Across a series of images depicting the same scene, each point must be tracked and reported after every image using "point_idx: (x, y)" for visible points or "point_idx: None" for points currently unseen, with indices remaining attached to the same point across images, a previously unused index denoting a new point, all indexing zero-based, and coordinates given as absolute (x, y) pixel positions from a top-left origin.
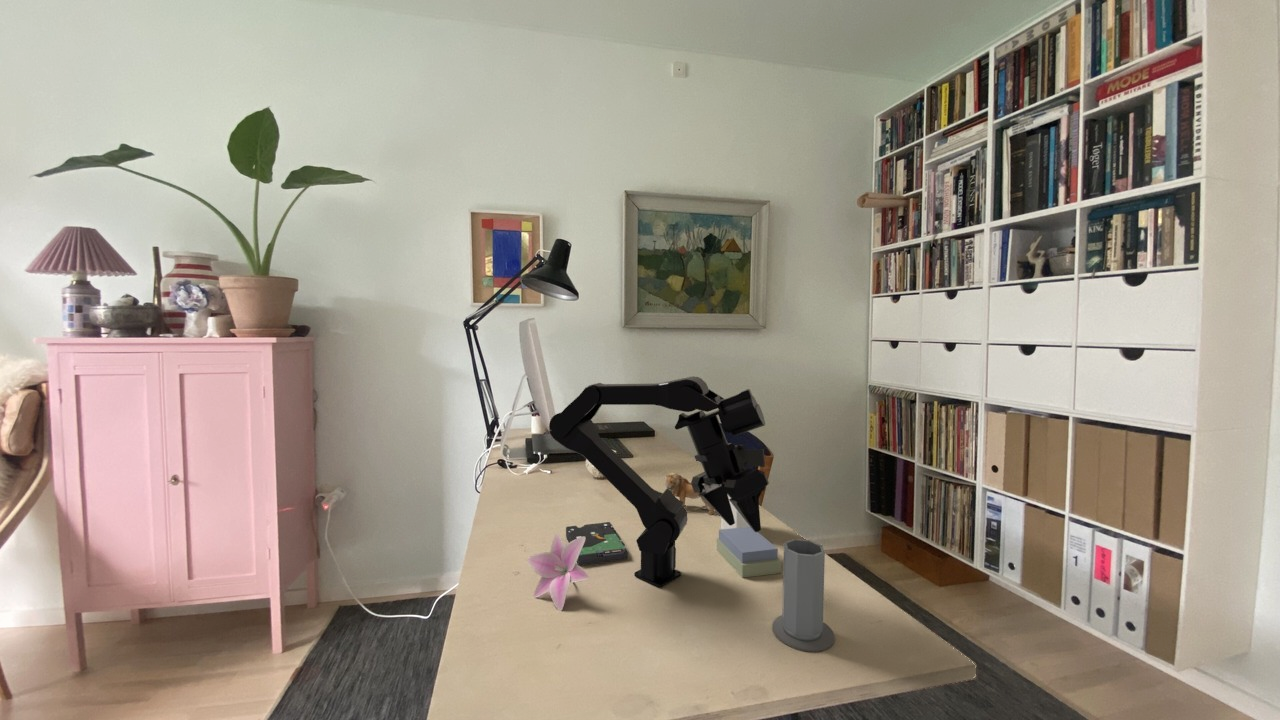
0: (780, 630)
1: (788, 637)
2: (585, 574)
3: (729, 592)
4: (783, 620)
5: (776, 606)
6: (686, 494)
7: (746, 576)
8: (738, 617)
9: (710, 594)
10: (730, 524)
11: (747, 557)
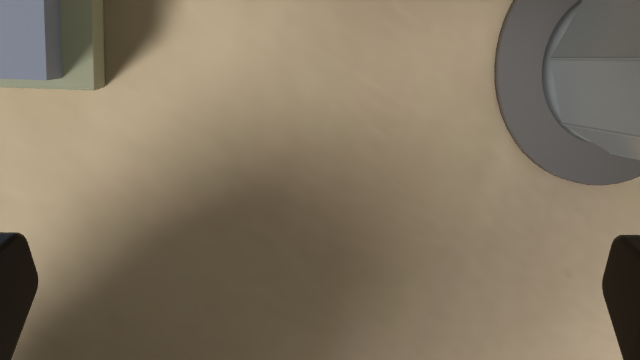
0: (583, 155)
1: None
2: None
3: (236, 224)
4: (616, 151)
5: (412, 58)
6: None
7: (102, 58)
8: (434, 268)
9: (230, 321)
10: (34, 286)
11: (52, 35)
